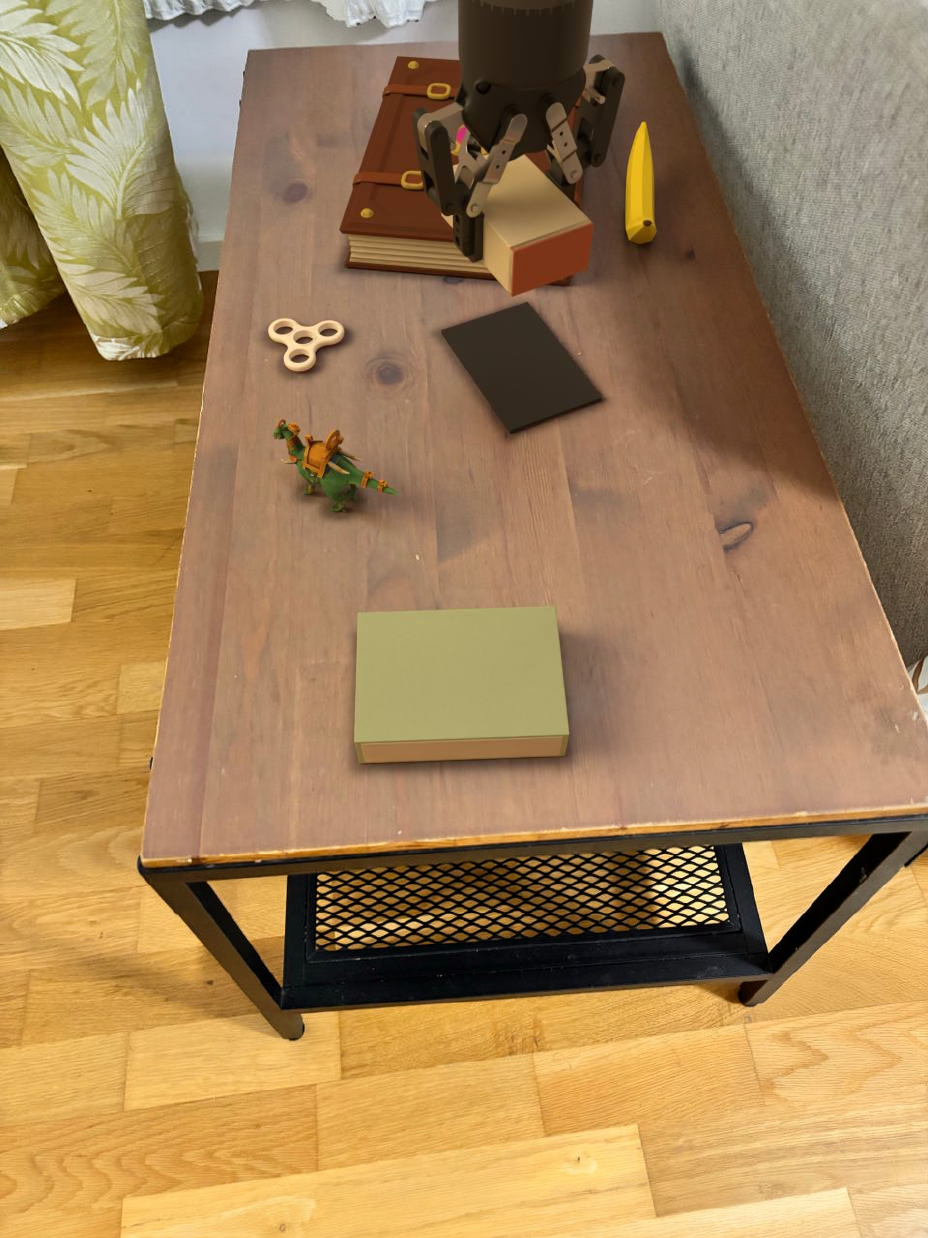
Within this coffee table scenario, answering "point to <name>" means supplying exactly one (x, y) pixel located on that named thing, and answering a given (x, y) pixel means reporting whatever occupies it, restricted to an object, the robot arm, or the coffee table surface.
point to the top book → (531, 230)
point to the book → (412, 181)
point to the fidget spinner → (304, 331)
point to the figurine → (327, 465)
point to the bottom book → (459, 685)
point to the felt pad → (520, 367)
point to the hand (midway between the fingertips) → (513, 239)
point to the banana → (640, 190)
